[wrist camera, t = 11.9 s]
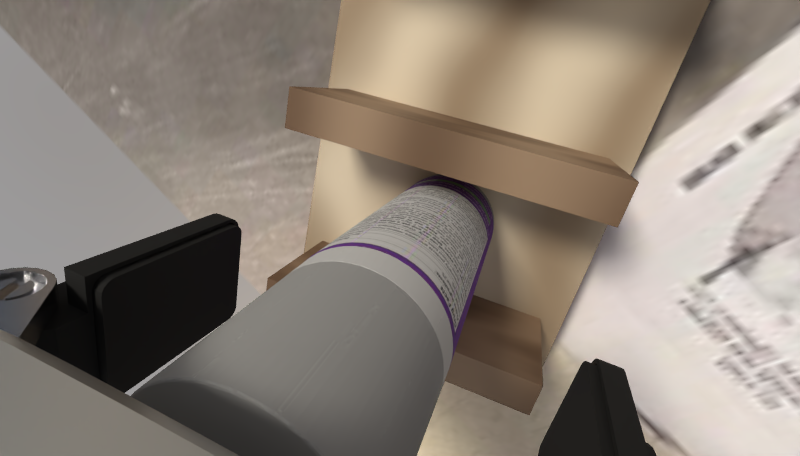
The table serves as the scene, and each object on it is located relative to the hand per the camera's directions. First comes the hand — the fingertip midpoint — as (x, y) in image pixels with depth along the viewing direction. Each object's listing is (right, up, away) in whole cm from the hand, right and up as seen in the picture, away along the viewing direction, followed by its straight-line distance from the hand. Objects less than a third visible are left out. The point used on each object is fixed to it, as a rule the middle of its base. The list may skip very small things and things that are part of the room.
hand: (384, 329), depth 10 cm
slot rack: (+4, +7, +9) cm, 12 cm away
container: (+3, +3, +9) cm, 10 cm away
